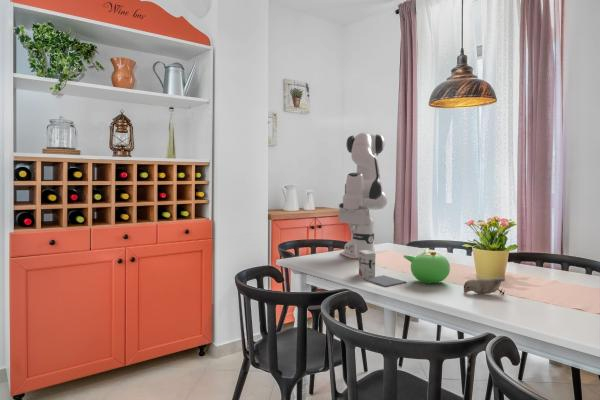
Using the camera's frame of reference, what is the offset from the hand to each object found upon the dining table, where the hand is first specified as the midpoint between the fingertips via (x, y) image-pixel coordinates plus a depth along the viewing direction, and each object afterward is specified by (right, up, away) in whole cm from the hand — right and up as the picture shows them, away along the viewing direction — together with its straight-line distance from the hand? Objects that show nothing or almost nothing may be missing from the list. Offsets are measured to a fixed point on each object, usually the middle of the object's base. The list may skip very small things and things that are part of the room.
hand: (353, 233), depth 211 cm
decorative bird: (+49, -23, -36) cm, 65 cm away
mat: (+12, -21, -17) cm, 30 cm away
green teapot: (+32, -21, -18) cm, 42 cm away
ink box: (+5, -20, -7) cm, 22 cm away
